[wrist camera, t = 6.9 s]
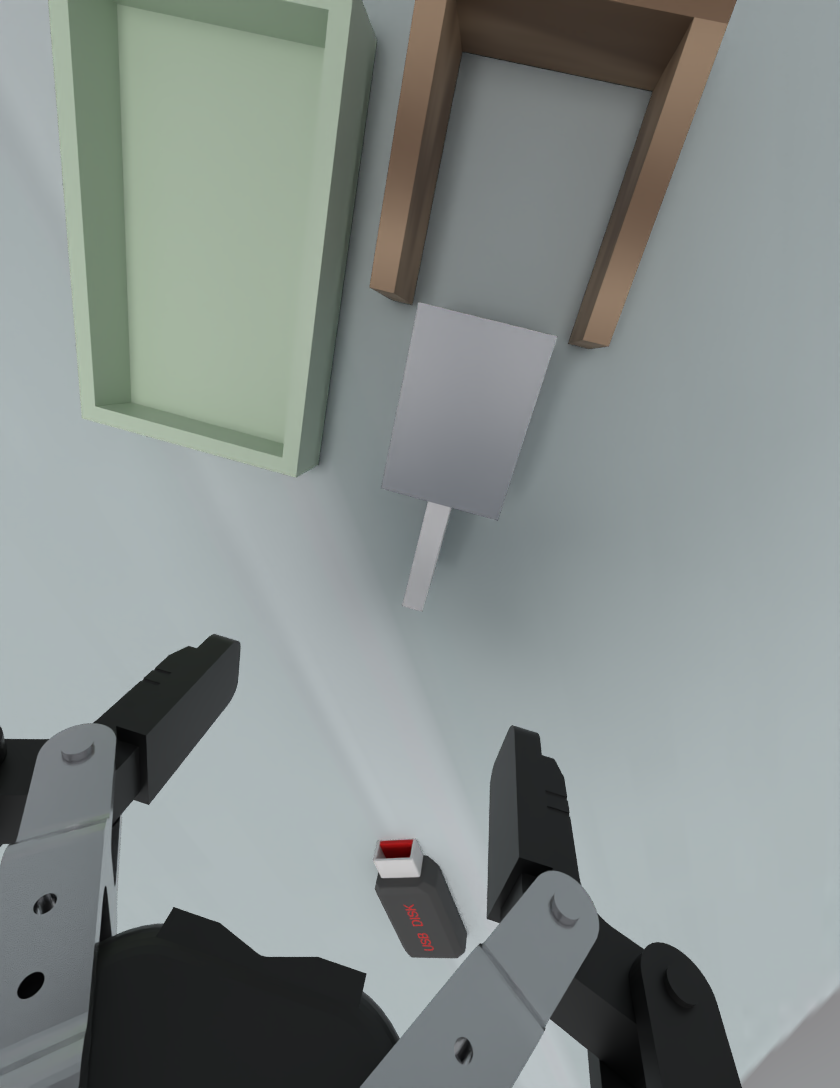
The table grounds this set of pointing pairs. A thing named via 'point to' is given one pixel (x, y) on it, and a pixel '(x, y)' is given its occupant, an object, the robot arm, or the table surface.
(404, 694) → the table surface
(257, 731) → the table surface
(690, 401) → the table surface
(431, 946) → the usb drive
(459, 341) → the grey block with stick
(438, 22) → the u-shaped wooden frame
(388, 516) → the table surface
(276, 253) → the tray
